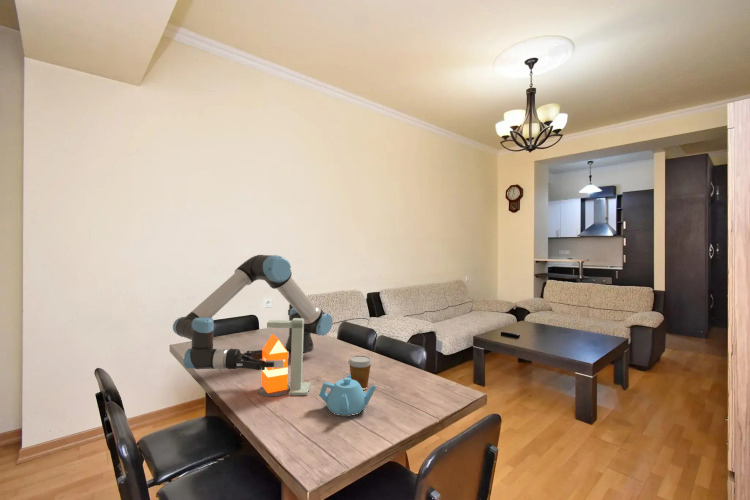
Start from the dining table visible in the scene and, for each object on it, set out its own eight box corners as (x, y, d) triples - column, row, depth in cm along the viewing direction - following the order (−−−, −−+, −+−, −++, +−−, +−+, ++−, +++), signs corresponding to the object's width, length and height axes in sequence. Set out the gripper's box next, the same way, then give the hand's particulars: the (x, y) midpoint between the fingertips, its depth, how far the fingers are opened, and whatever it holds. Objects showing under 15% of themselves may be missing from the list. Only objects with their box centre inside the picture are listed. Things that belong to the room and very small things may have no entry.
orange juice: (280, 381, 142) (281, 332, 142) (287, 389, 135) (289, 337, 135) (260, 385, 138) (262, 334, 138) (267, 393, 131) (268, 340, 130)
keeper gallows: (263, 395, 131) (265, 321, 131) (269, 385, 141) (271, 316, 141) (307, 395, 132) (309, 322, 132) (310, 385, 142) (312, 316, 142)
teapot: (349, 395, 134) (350, 367, 134) (377, 409, 123) (377, 379, 123) (316, 407, 123) (317, 377, 123) (343, 423, 112) (343, 390, 112)
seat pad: (254, 396, 130) (254, 395, 130) (262, 384, 142) (262, 383, 142) (286, 396, 131) (287, 395, 131) (292, 384, 143) (292, 383, 143)
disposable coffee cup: (374, 385, 144) (375, 356, 144) (366, 394, 135) (367, 363, 135) (353, 382, 147) (353, 353, 147) (343, 390, 138) (344, 360, 138)
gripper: (237, 359, 146) (290, 359, 148) (216, 379, 124) (279, 379, 125) (237, 341, 146) (291, 341, 148) (216, 358, 124) (280, 358, 125)
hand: (285, 359), depth 137 cm, fingers closed on orange juice, 10 cm apart
